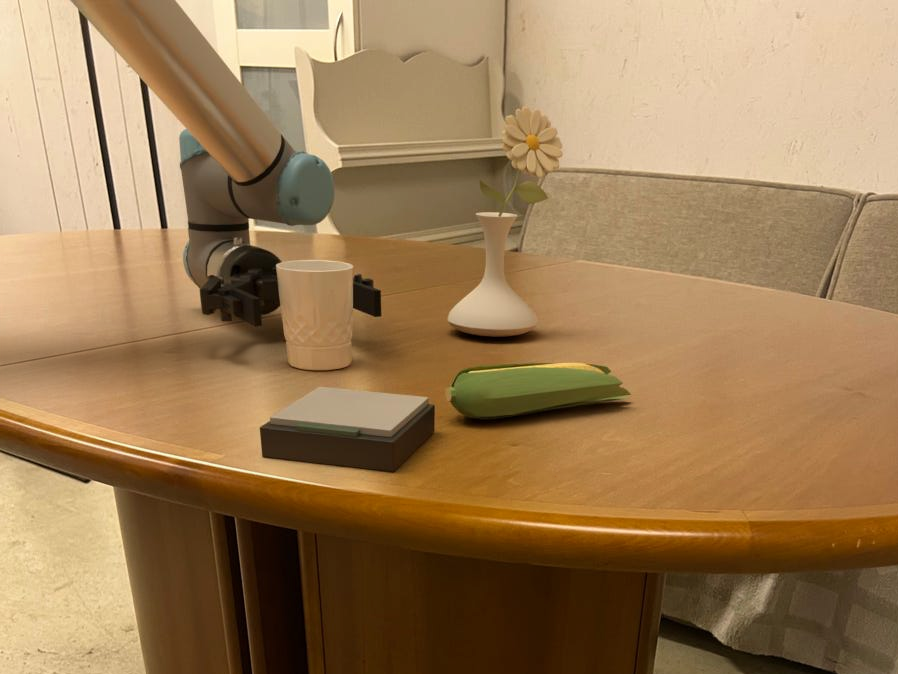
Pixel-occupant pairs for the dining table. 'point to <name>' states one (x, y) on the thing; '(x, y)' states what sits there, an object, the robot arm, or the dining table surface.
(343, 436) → the scale
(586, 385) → the edible corn
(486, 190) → the flower in vase
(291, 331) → the white cup
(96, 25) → the robot arm
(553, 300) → the dining table surface
